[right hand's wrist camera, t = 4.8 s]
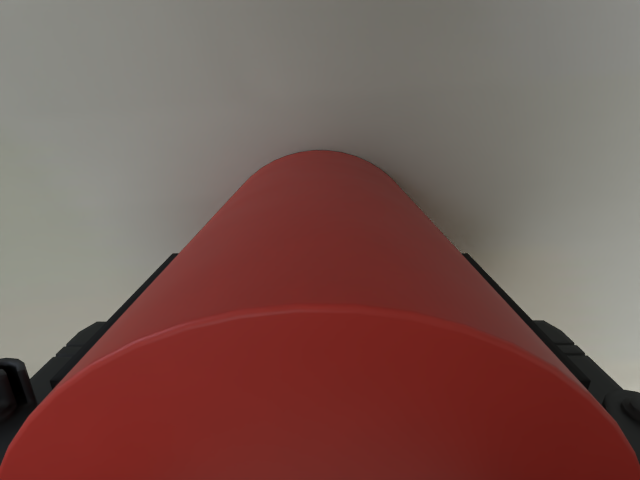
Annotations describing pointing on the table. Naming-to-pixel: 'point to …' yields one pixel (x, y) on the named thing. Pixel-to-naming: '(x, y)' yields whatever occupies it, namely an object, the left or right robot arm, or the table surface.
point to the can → (320, 357)
